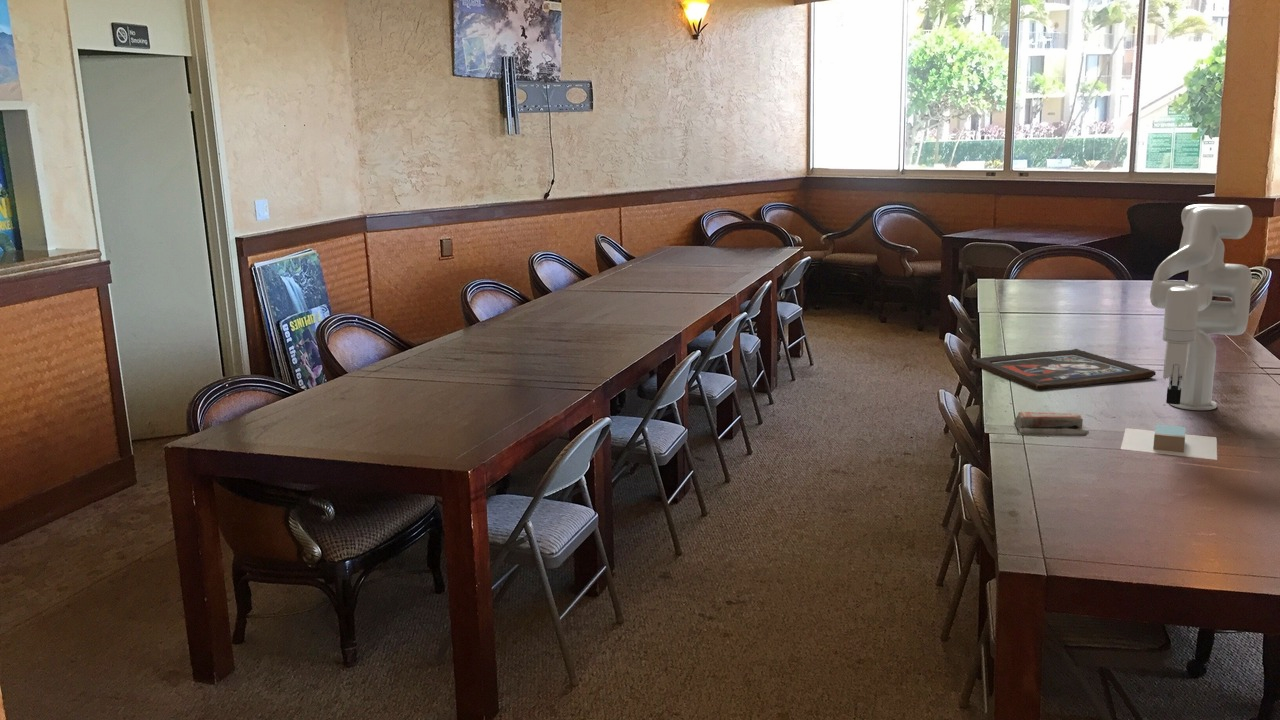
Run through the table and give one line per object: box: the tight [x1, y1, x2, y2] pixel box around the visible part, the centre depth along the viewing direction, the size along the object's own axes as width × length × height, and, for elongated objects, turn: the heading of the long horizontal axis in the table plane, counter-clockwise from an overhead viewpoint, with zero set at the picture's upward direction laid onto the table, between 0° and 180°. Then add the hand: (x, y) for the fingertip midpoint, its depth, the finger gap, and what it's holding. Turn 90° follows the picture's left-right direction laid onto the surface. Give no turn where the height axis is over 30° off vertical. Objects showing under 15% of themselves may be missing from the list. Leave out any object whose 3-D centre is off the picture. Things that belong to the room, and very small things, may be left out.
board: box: [1120, 427, 1218, 461], centre depth 270 cm, size 20×22×1 cm
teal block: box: [1153, 423, 1187, 453], centre depth 268 cm, size 4×7×10 cm
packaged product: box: [1013, 411, 1090, 435], centre depth 287 cm, size 18×5×10 cm
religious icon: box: [971, 348, 1156, 391], centre depth 349 cm, size 40×45×3 cm
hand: (1173, 403), depth 268 cm, fingers closed
